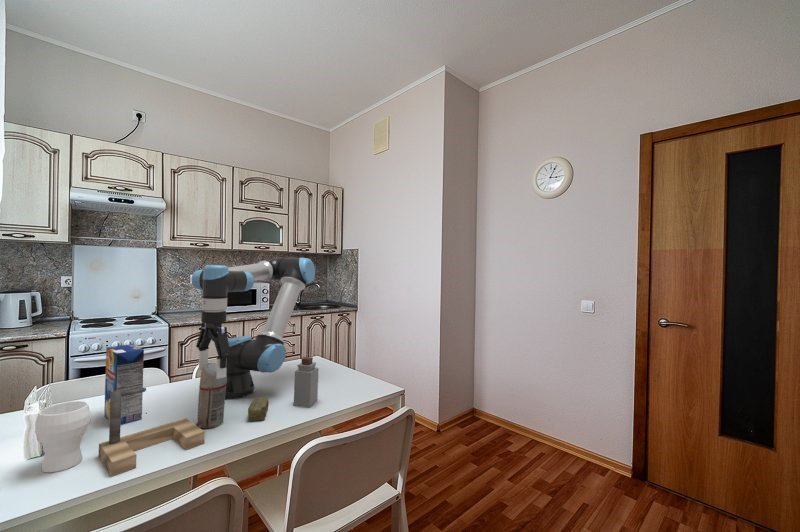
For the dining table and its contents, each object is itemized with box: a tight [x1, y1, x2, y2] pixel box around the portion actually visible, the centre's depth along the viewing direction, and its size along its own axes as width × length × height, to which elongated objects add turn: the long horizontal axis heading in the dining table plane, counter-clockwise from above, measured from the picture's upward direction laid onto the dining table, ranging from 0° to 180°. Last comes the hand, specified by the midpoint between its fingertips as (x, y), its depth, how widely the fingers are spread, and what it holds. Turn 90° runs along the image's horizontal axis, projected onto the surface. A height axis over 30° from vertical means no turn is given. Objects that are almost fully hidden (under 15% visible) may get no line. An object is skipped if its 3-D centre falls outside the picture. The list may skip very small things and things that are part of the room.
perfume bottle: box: [293, 356, 319, 409], centre depth 138 cm, size 7×7×18 cm
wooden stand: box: [98, 387, 206, 477], centre depth 101 cm, size 14×22×18 cm, turn 142°
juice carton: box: [103, 343, 145, 426], centre depth 120 cm, size 12×8×24 cm, turn 53°
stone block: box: [247, 396, 269, 422], centre depth 126 cm, size 6×12×5 cm, turn 15°
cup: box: [34, 400, 92, 473], centre depth 93 cm, size 11×11×15 cm
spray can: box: [196, 362, 227, 429], centre depth 118 cm, size 8×8×20 cm
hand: (211, 373), depth 118 cm, fingers open, 13 cm apart
